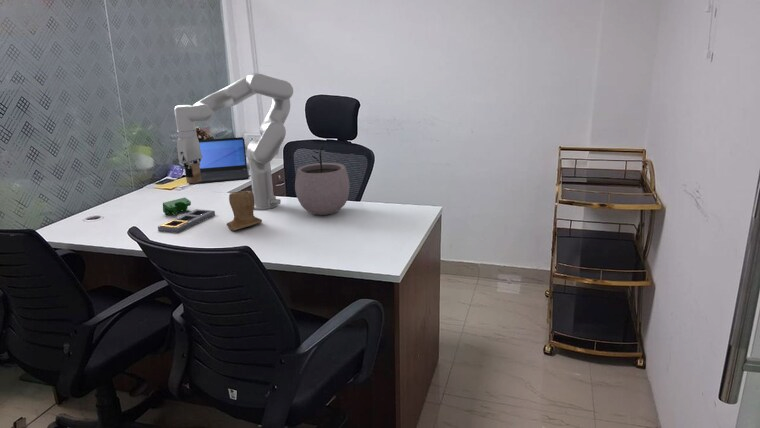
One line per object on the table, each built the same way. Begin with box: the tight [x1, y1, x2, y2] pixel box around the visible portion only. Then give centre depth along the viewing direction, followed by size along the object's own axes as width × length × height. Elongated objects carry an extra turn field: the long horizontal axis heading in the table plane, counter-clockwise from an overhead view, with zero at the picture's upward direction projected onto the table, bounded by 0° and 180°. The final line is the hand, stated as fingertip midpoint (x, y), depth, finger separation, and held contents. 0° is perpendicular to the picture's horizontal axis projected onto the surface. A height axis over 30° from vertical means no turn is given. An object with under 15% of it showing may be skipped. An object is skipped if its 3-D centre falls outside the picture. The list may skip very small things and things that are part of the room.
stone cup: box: [226, 190, 263, 232], centre depth 226 cm, size 15×12×15 cm
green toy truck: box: [162, 197, 192, 216], centre depth 250 cm, size 12×6×9 cm, turn 133°
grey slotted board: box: [157, 208, 216, 234], centre depth 235 cm, size 10×25×2 cm, turn 160°
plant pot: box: [294, 146, 351, 216], centre depth 237 cm, size 24×24×30 cm
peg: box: [185, 163, 202, 184], centre depth 236 cm, size 4×4×8 cm
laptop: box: [188, 137, 249, 185], centre depth 320 cm, size 33×38×19 cm
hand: (193, 175), depth 237 cm, fingers closed on peg, 4 cm apart
